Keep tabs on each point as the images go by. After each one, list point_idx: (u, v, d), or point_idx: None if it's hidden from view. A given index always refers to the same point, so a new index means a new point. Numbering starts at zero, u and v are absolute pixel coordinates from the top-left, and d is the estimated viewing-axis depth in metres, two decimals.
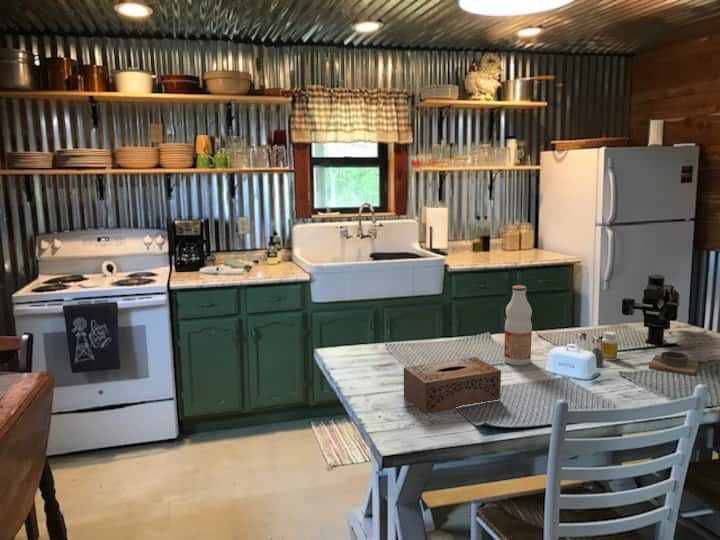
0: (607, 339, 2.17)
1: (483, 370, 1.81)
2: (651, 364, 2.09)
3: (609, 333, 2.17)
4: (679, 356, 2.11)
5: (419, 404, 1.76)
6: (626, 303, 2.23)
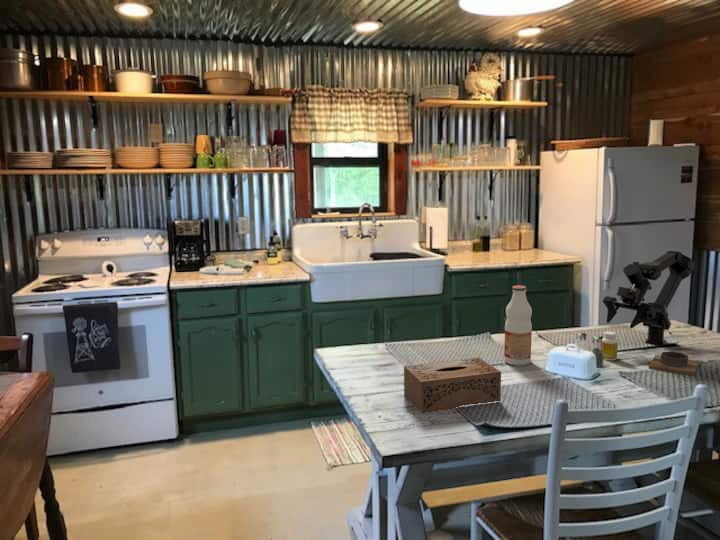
0: (607, 339, 2.17)
1: (482, 371, 1.80)
2: (651, 364, 2.09)
3: (609, 333, 2.17)
4: (679, 356, 2.11)
5: (417, 403, 1.77)
6: (606, 304, 2.27)
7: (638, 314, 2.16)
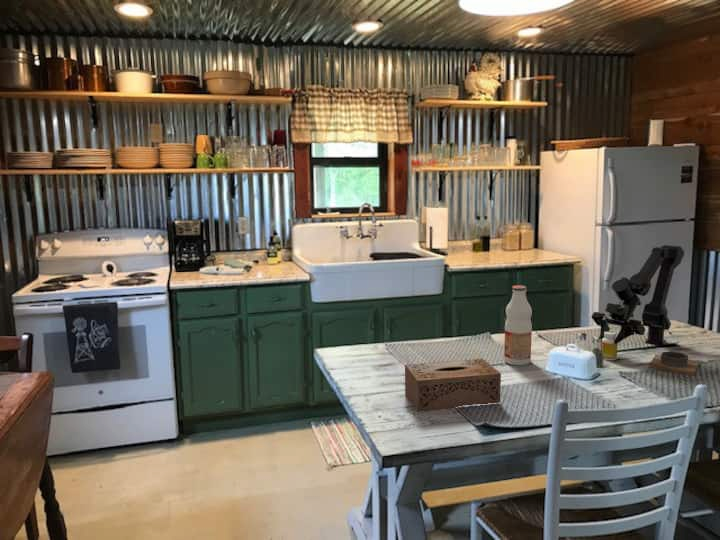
0: (607, 339, 2.17)
1: (482, 372, 1.79)
2: (651, 364, 2.09)
3: (609, 333, 2.17)
4: (679, 356, 2.11)
5: (414, 402, 1.78)
6: (599, 321, 2.23)
7: (622, 330, 2.15)
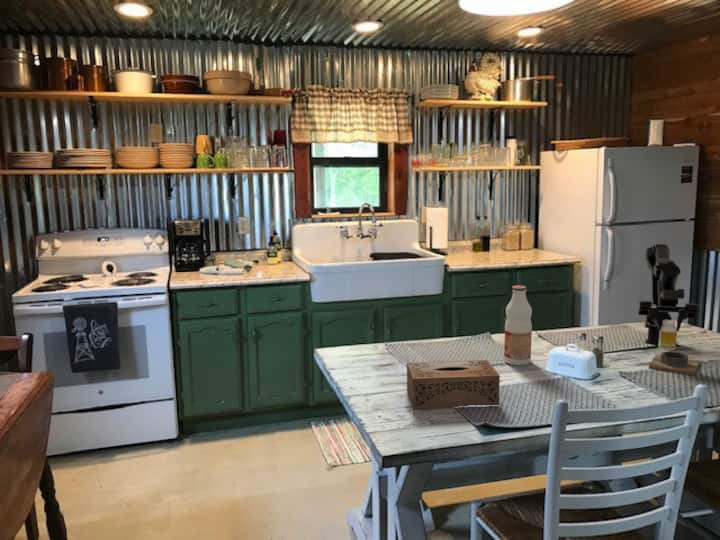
0: (670, 328, 2.06)
1: (480, 374, 1.78)
2: (651, 364, 2.09)
3: (669, 321, 2.07)
4: (679, 356, 2.11)
5: (411, 400, 1.80)
6: (650, 310, 2.11)
7: (681, 316, 2.07)
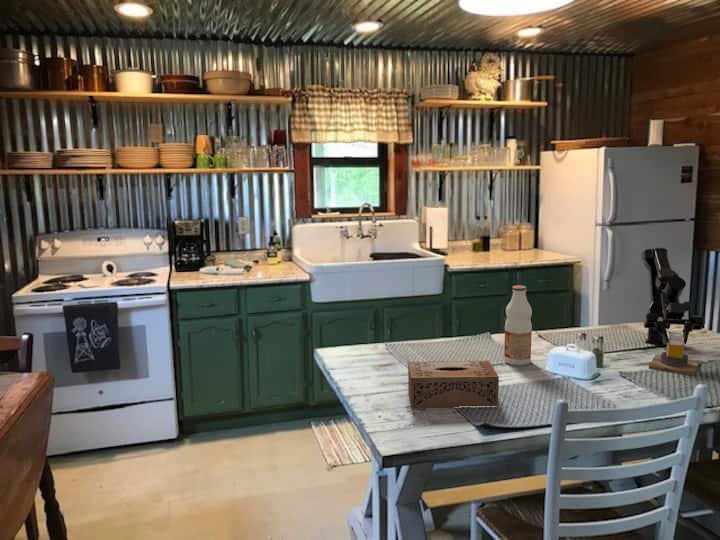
0: (678, 341, 2.06)
1: (480, 374, 1.78)
2: (651, 364, 2.09)
3: (677, 334, 2.07)
4: None
5: (410, 398, 1.81)
6: (657, 323, 2.11)
7: (688, 328, 2.08)
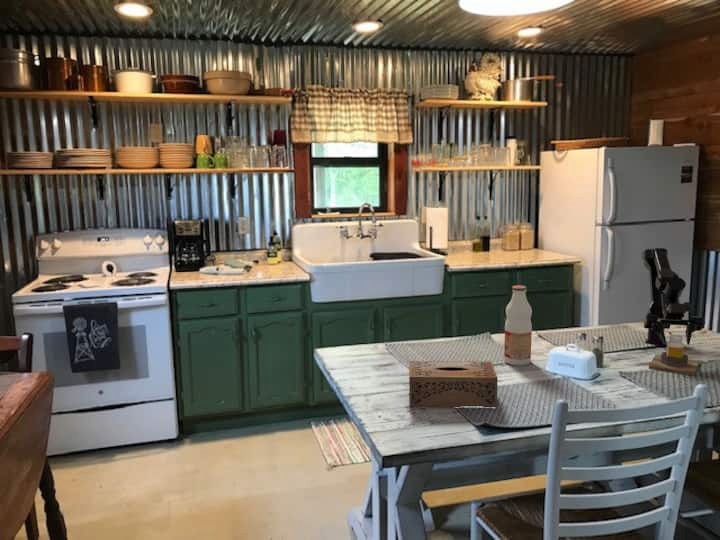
0: (678, 343, 2.07)
1: (479, 375, 1.77)
2: (651, 364, 2.09)
3: (677, 337, 2.07)
4: None
5: None
6: (654, 324, 2.11)
7: (691, 329, 2.08)
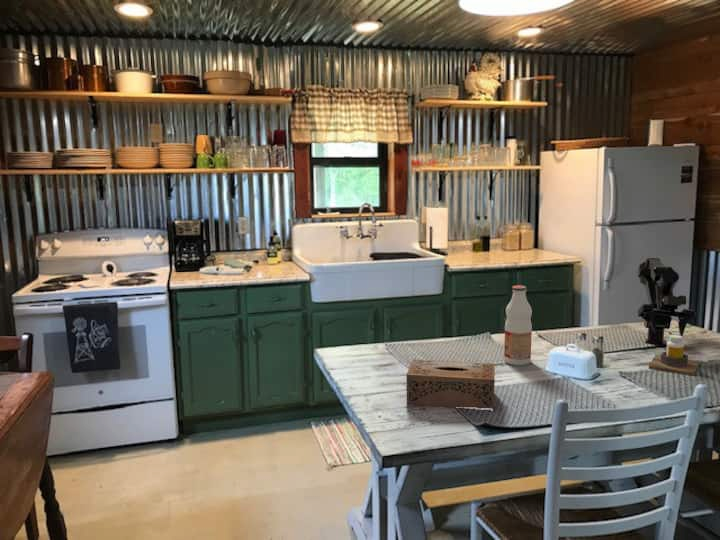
0: (677, 343, 2.07)
1: (476, 376, 1.76)
2: (651, 364, 2.09)
3: (677, 337, 2.07)
4: None
5: None
6: (647, 313, 2.19)
7: (685, 321, 2.17)
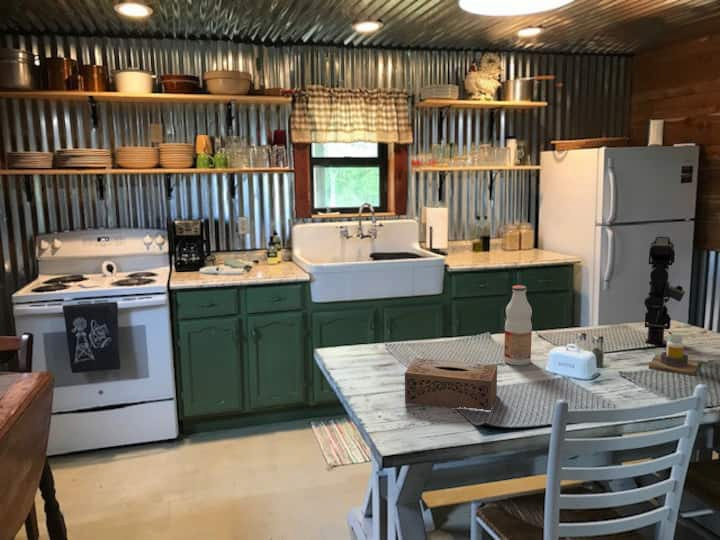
0: (677, 343, 2.07)
1: (474, 377, 1.75)
2: (651, 364, 2.09)
3: (677, 337, 2.07)
4: None
5: None
6: None
7: (664, 303, 2.24)
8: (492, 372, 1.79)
